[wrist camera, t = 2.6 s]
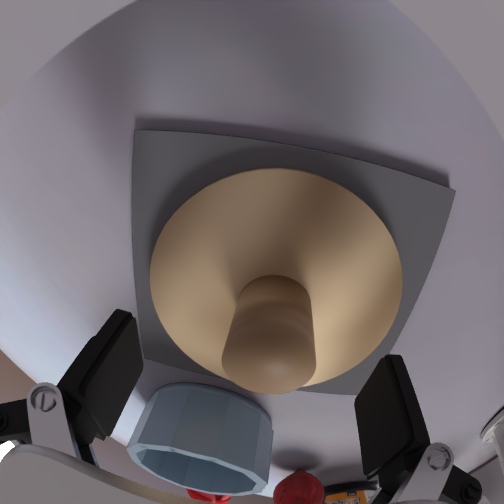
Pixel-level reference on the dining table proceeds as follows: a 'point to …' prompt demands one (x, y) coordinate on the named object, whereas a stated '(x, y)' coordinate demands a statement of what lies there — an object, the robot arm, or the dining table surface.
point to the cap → (208, 497)
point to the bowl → (204, 440)
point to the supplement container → (349, 493)
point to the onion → (299, 489)
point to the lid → (276, 279)
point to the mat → (276, 156)
